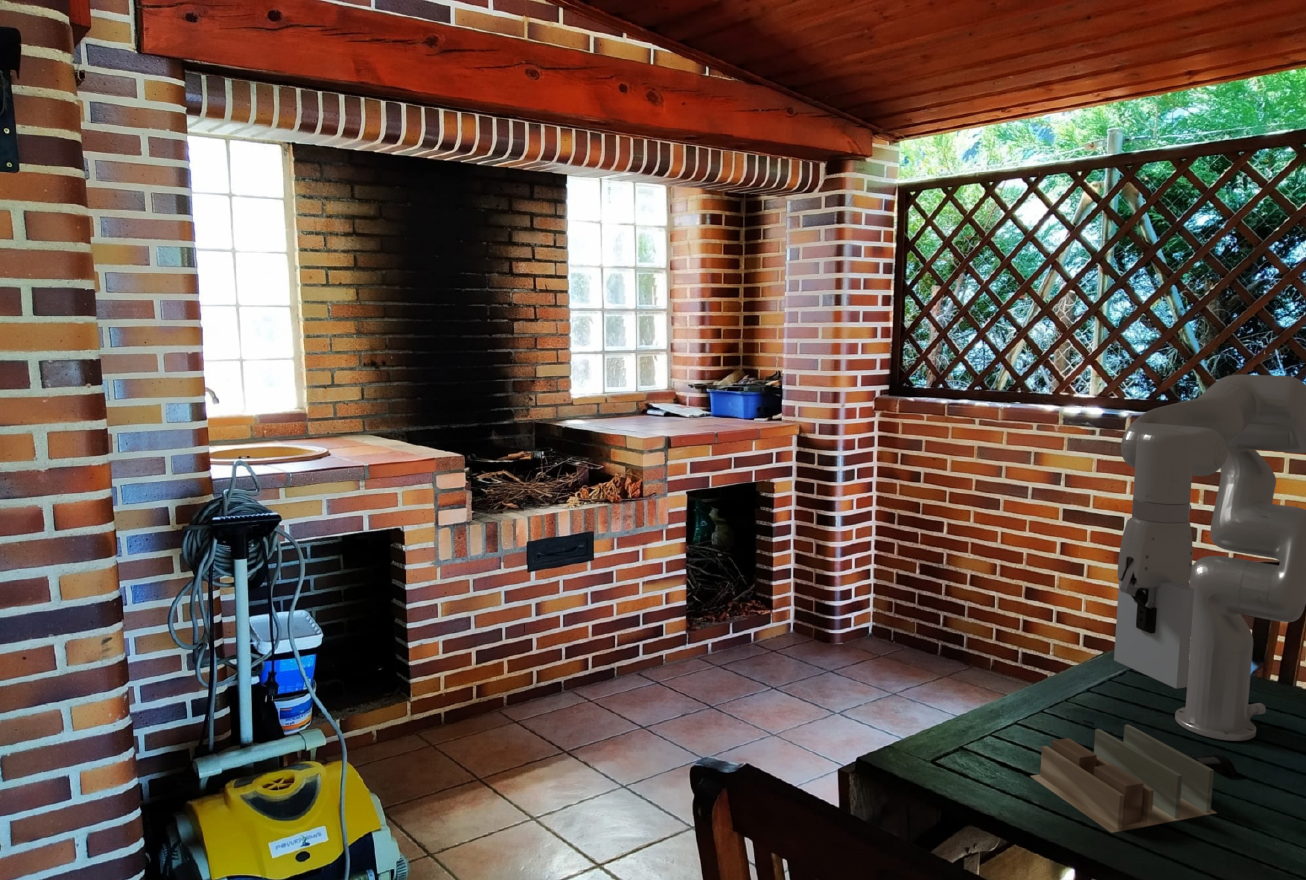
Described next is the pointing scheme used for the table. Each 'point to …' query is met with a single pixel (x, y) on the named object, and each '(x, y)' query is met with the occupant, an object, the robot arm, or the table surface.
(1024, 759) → the table surface
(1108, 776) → the offcut
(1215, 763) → the electric trimmer
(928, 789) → the table surface
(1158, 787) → the rack
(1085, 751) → the offcut
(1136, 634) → the sheet
